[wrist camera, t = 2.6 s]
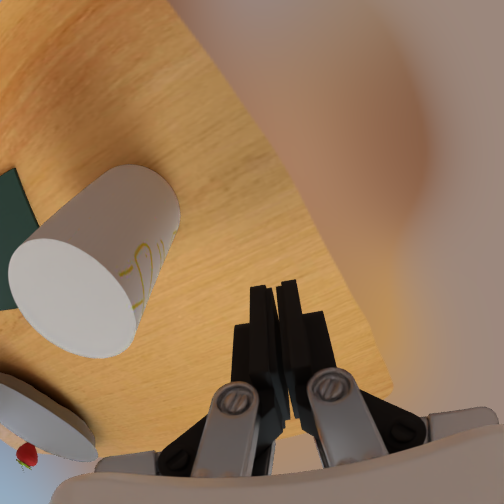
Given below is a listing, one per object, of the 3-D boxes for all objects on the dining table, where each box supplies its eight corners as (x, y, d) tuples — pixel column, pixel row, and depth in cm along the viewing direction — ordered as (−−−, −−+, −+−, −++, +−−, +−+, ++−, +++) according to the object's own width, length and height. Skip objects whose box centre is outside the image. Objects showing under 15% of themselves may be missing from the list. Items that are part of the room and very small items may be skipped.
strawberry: (47, 447, 57) (37, 477, 48) (35, 446, 59) (25, 475, 50) (29, 435, 54) (18, 466, 45) (18, 435, 56) (8, 463, 47)
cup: (150, 270, 28) (106, 375, 18) (77, 221, 25) (1, 306, 15) (199, 203, 25) (163, 302, 14) (116, 145, 22) (23, 207, 12)
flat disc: (72, 450, 55) (67, 465, 51) (-26, 382, 44) (-34, 396, 40) (130, 432, 45) (125, 454, 42) (-8, 335, 34) (-21, 356, 31)
